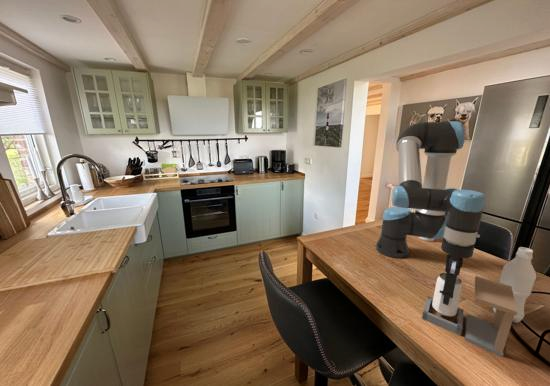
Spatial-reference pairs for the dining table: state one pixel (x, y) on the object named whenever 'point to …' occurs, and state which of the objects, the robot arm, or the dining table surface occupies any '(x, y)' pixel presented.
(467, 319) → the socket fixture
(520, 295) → the water bottle
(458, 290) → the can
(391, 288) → the dining table surface
